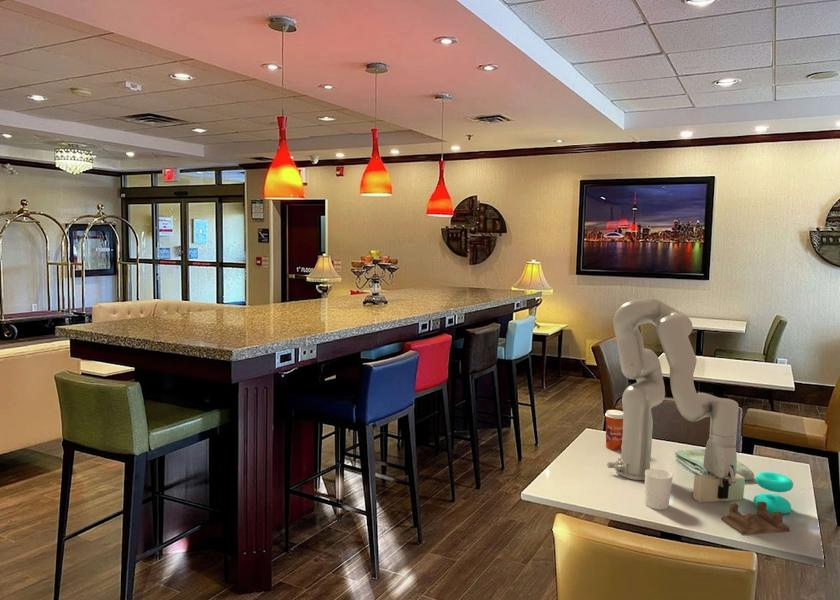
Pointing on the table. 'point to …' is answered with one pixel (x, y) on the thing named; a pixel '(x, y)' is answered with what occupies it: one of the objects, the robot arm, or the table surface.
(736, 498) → the cream rectangular block
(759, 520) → the rack
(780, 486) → the donuts
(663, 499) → the white cup
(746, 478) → the towel
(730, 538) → the table surface
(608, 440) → the paper cup
